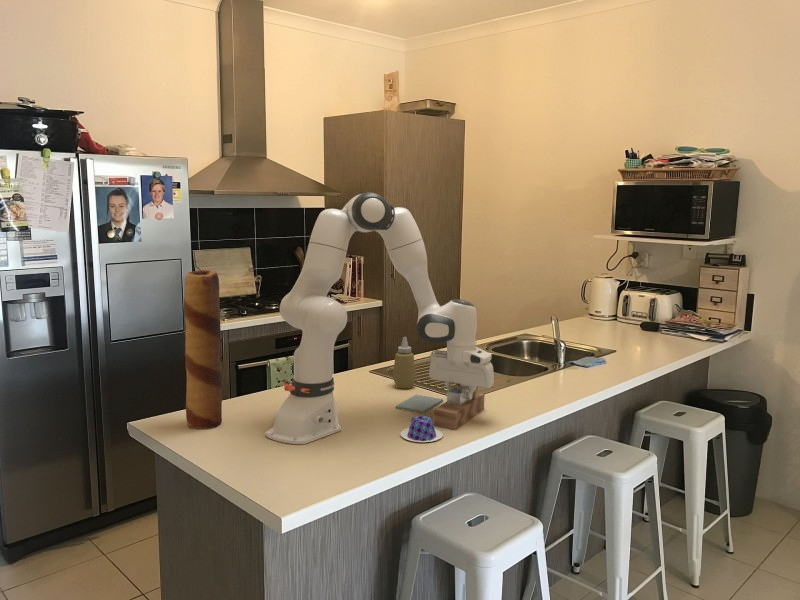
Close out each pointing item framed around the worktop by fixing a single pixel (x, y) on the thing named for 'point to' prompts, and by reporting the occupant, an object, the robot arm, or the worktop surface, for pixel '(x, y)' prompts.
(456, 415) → the brown stand
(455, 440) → the worktop surface
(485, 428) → the worktop surface
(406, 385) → the squeeze bottle
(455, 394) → the lever cap
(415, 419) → the pudding
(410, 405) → the rubber mat
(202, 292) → the wafer roll
